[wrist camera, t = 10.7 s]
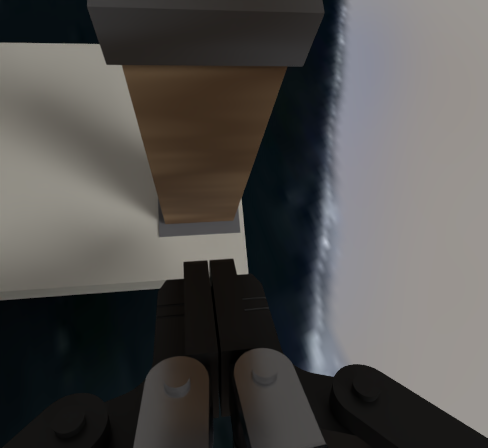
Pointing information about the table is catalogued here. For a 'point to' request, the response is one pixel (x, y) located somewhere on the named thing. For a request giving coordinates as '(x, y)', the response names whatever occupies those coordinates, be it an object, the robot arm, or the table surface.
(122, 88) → the switch panel
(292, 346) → the table surface
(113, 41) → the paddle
